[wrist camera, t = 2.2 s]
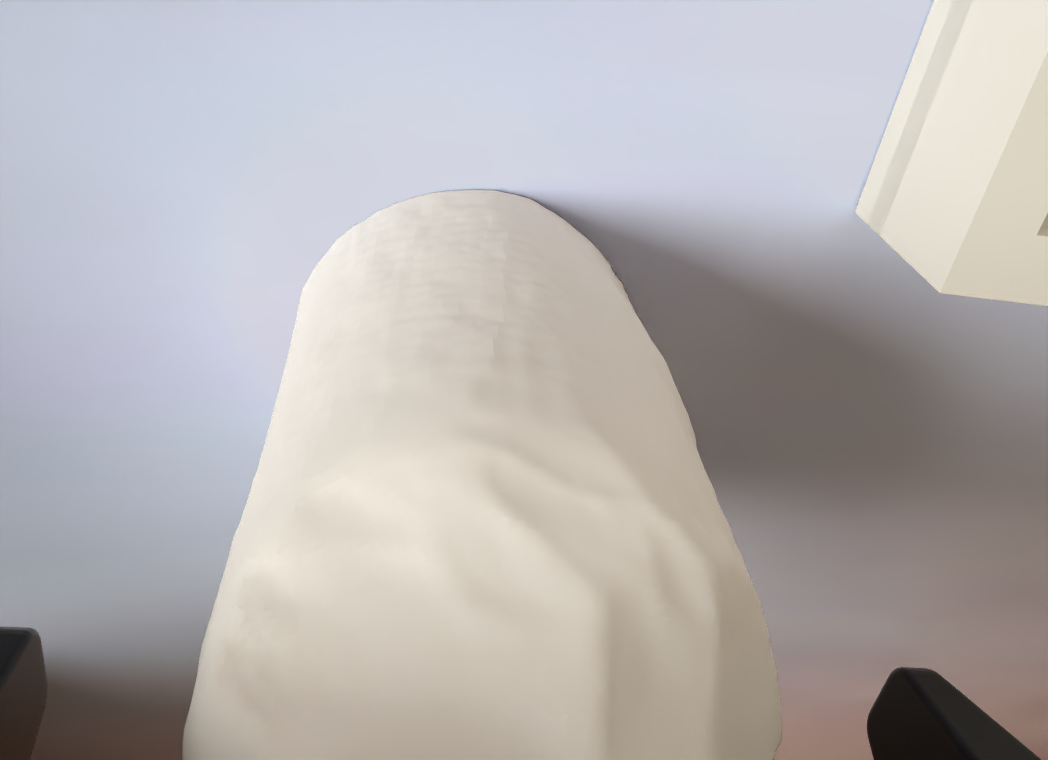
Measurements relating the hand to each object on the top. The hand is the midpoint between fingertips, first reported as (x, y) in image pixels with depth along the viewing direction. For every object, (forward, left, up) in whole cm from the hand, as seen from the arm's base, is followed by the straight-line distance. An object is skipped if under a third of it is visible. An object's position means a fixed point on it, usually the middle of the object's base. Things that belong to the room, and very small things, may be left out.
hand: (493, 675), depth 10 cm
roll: (0, 0, -8) cm, 8 cm away
